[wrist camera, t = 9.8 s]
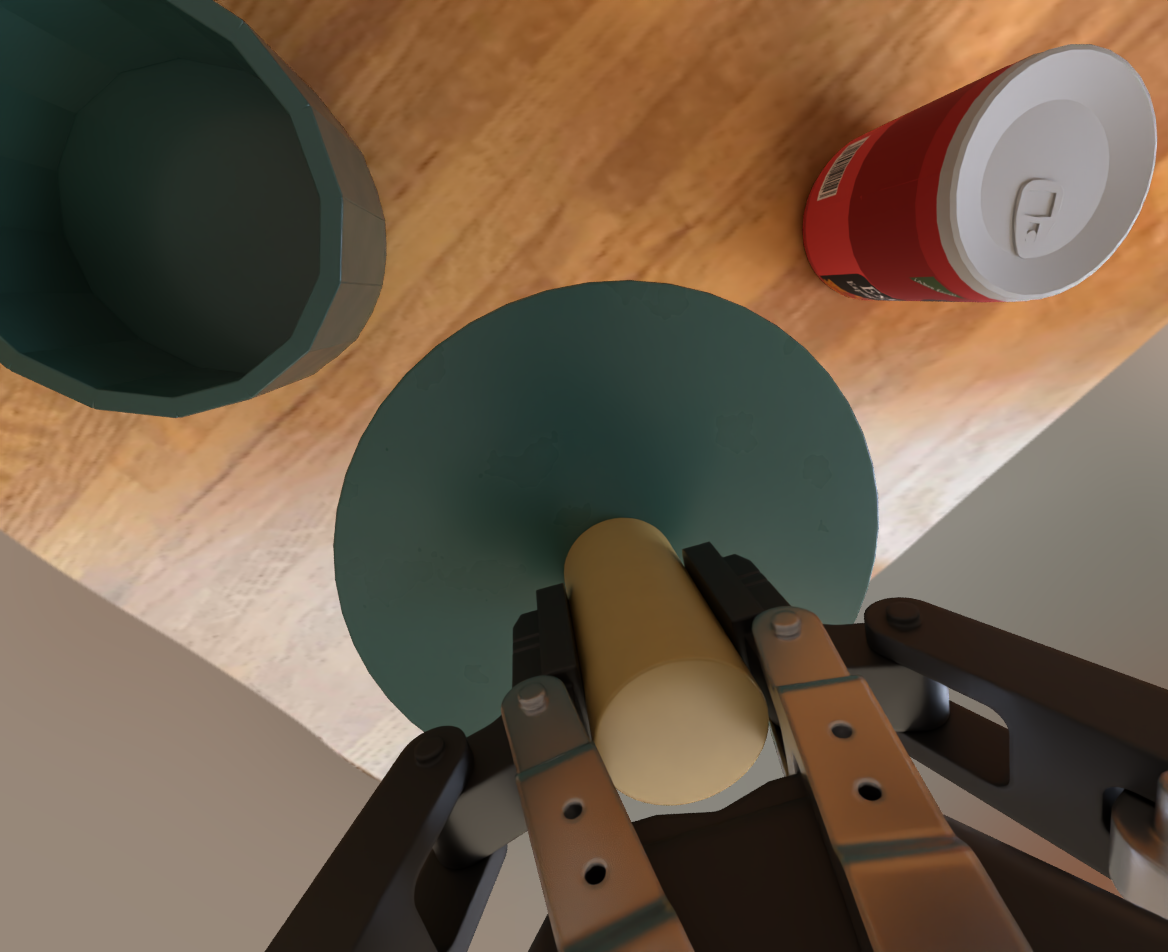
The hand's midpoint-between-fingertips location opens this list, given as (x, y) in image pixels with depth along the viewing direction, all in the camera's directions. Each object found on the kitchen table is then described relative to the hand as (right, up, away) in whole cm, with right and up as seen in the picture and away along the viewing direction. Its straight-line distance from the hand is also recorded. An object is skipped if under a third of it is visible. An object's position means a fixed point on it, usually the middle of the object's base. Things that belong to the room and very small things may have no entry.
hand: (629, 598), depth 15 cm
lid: (0, +1, +2) cm, 2 cm away
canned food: (+14, +17, +15) cm, 26 cm away
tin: (-18, +15, +12) cm, 26 cm away
